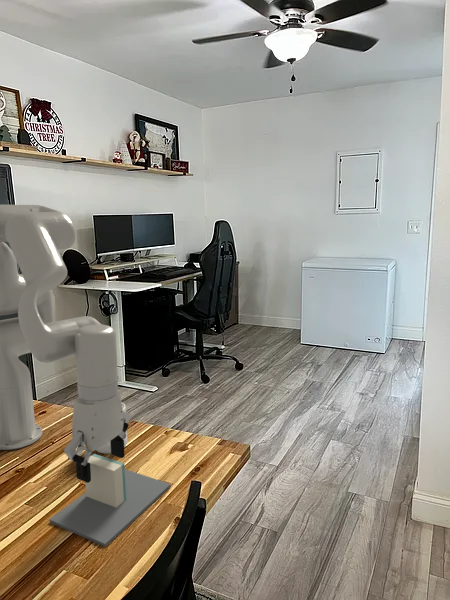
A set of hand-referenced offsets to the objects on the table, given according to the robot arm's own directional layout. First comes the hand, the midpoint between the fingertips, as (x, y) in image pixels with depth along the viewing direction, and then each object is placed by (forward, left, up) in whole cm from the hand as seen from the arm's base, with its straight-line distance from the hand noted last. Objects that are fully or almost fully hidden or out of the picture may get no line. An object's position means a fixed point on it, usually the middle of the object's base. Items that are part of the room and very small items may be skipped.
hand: (101, 467), depth 92 cm
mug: (-12, +16, -7) cm, 21 cm away
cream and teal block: (+1, 0, -7) cm, 7 cm away
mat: (+3, 0, -7) cm, 8 cm away
